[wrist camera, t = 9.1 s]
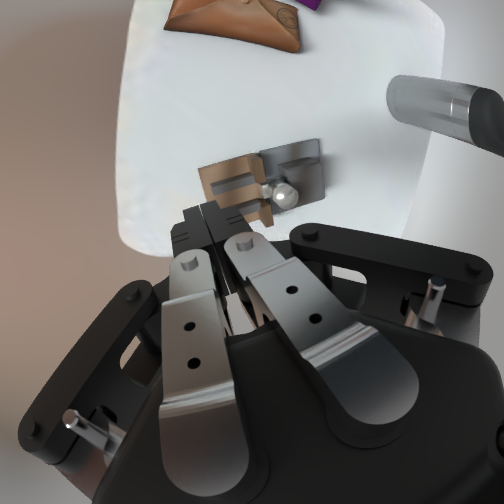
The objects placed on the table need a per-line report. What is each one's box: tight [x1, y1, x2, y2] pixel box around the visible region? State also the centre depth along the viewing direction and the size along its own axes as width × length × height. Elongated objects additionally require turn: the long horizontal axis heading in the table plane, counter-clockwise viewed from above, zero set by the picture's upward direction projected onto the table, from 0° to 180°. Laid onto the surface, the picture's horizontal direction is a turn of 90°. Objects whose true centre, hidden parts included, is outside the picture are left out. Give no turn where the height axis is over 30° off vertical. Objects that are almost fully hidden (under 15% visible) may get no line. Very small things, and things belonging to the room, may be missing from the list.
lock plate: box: [198, 139, 325, 228], centre depth 40 cm, size 18×10×5 cm, turn 101°
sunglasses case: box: [164, 0, 300, 53], centre depth 27 cm, size 18×7×7 cm, turn 80°
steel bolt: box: [258, 175, 298, 209], centre depth 39 cm, size 8×3×6 cm, turn 101°
